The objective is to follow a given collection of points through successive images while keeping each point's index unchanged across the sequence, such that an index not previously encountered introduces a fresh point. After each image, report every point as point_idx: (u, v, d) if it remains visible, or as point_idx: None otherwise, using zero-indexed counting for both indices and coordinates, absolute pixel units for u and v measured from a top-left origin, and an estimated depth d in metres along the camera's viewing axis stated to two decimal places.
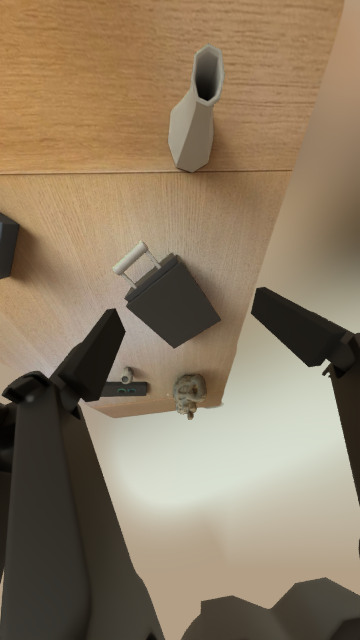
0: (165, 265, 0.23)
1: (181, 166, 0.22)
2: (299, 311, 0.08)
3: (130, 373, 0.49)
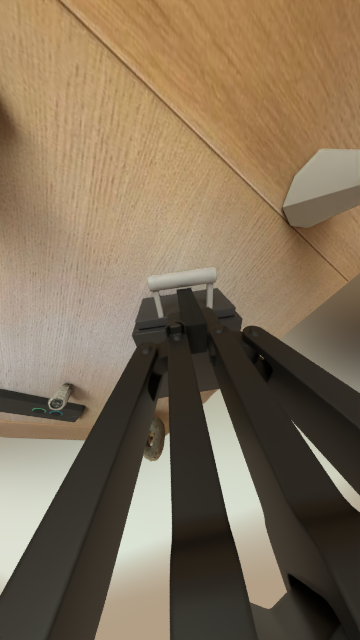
0: (219, 311, 0.16)
1: (287, 212, 0.17)
2: (192, 308, 0.10)
3: (68, 392, 0.34)
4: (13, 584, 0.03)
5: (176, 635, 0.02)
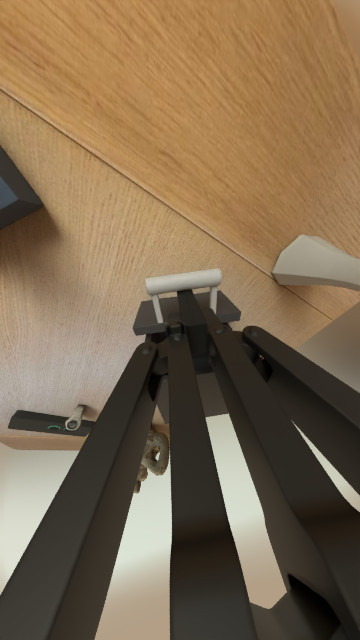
0: (223, 316, 0.15)
1: (276, 276, 0.20)
2: (192, 308, 0.10)
3: (81, 412, 0.37)
4: (13, 584, 0.03)
5: (176, 635, 0.02)
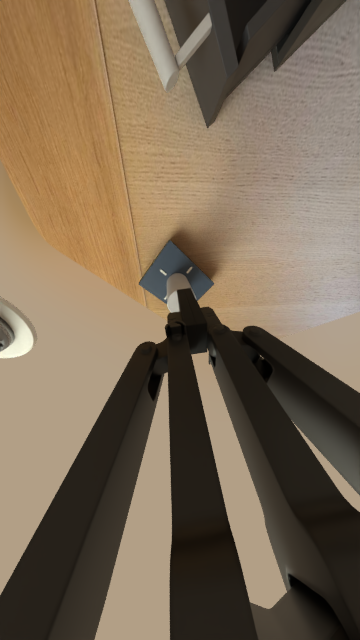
0: None
1: None
2: (192, 308, 0.10)
3: None
4: (14, 583, 0.03)
5: (176, 635, 0.02)
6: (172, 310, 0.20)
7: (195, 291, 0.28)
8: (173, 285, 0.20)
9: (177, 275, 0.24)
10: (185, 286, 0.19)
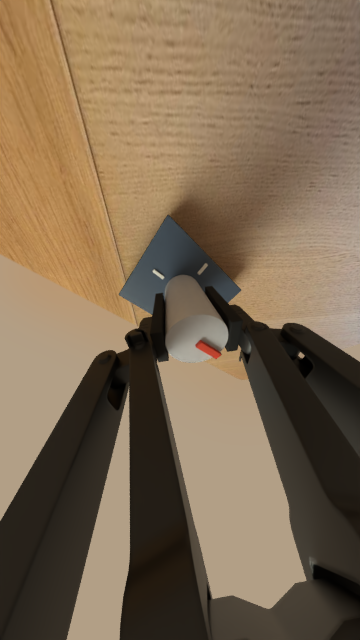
0: None
1: None
2: (222, 305, 0.10)
3: None
4: None
5: None
6: (176, 354, 0.09)
7: None
8: (176, 301, 0.10)
9: (183, 279, 0.14)
10: (203, 304, 0.09)
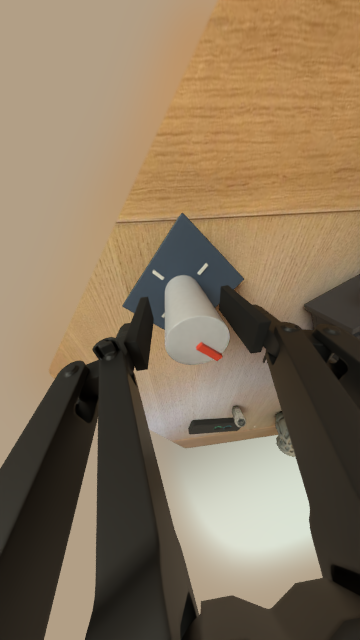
0: None
1: None
2: (244, 305, 0.10)
3: (236, 411, 0.44)
4: None
5: None
6: (176, 356, 0.09)
7: None
8: (176, 302, 0.10)
9: (183, 279, 0.14)
10: (203, 305, 0.09)
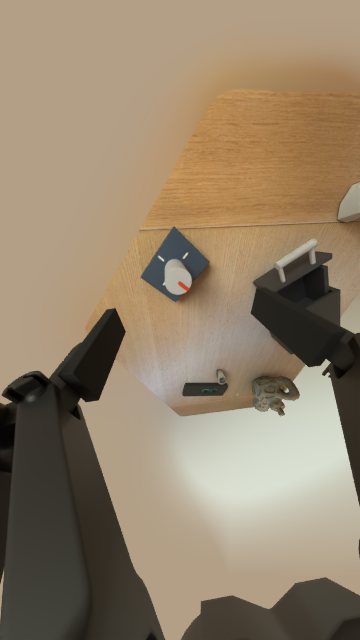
0: (320, 260, 0.26)
1: (342, 219, 0.29)
2: (299, 311, 0.08)
3: None
4: None
5: None
6: (169, 288, 0.22)
7: None
8: (170, 266, 0.22)
9: (174, 260, 0.26)
10: (181, 266, 0.21)
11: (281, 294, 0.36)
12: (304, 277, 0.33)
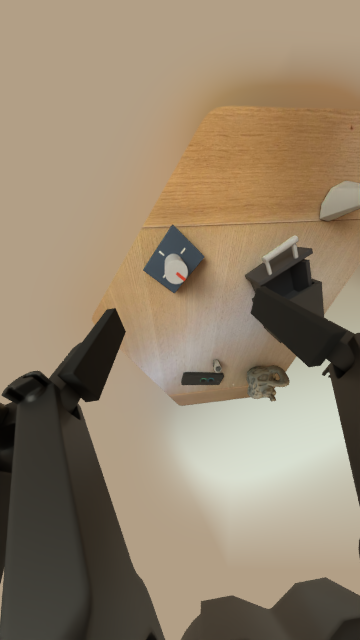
0: (302, 255, 0.30)
1: (324, 218, 0.32)
2: (299, 311, 0.08)
3: None
4: None
5: None
6: (169, 278, 0.25)
7: None
8: (169, 259, 0.26)
9: (173, 254, 0.29)
10: (178, 259, 0.25)
11: (271, 287, 0.40)
12: (291, 271, 0.37)
